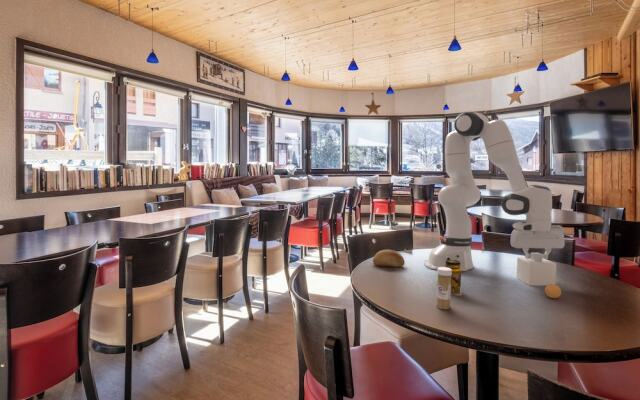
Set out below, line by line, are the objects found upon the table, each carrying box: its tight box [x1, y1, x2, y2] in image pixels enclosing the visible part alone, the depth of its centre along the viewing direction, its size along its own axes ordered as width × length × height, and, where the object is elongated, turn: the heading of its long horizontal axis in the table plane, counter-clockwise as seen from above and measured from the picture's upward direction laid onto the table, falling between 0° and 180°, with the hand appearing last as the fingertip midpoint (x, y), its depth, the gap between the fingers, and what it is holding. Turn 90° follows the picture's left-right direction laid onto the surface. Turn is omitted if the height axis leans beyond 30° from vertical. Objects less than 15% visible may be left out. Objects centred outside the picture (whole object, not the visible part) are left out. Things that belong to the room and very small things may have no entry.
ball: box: [544, 283, 562, 299], centre depth 133 cm, size 5×5×5 cm
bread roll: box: [372, 249, 405, 268], centre depth 176 cm, size 10×15×8 cm, turn 73°
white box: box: [516, 252, 557, 287], centre depth 151 cm, size 10×10×12 cm
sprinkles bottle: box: [436, 267, 452, 310], centre depth 124 cm, size 5×5×13 cm
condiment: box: [445, 260, 463, 296], centre depth 140 cm, size 7×8×12 cm
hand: (536, 258), depth 151 cm, fingers open, 5 cm apart
